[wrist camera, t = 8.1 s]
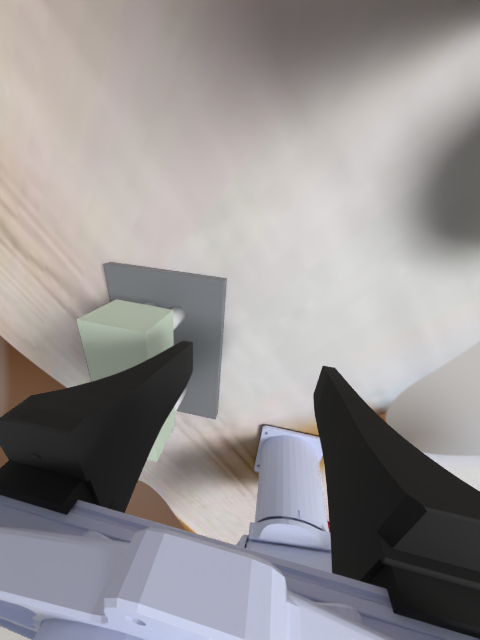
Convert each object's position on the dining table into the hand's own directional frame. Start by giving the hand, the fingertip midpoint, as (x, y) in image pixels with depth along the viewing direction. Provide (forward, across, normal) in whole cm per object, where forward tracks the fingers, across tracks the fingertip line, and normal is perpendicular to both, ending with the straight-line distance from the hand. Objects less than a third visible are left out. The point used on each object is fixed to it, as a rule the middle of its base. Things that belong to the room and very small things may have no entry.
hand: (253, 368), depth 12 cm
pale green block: (+5, +10, +7) cm, 13 cm away
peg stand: (+10, +10, +7) cm, 16 cm away
